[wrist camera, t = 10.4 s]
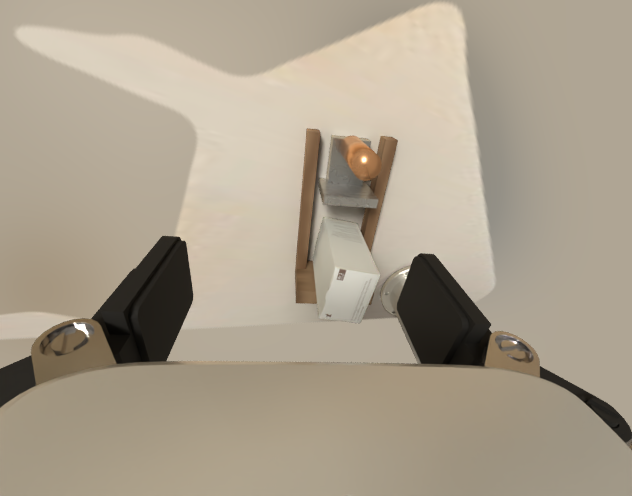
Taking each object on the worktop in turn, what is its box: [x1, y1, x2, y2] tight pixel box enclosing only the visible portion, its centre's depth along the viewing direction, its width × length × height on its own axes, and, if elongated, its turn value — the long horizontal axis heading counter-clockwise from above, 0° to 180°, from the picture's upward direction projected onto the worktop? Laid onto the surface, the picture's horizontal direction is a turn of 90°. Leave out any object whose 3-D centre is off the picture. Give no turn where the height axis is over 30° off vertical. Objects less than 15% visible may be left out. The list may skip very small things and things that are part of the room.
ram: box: [318, 135, 382, 208], centre depth 34 cm, size 7×8×11 cm
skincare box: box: [313, 217, 380, 323], centre depth 39 cm, size 8×6×15 cm
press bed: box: [295, 129, 398, 305], centre depth 40 cm, size 12×24×8 cm, turn 174°
